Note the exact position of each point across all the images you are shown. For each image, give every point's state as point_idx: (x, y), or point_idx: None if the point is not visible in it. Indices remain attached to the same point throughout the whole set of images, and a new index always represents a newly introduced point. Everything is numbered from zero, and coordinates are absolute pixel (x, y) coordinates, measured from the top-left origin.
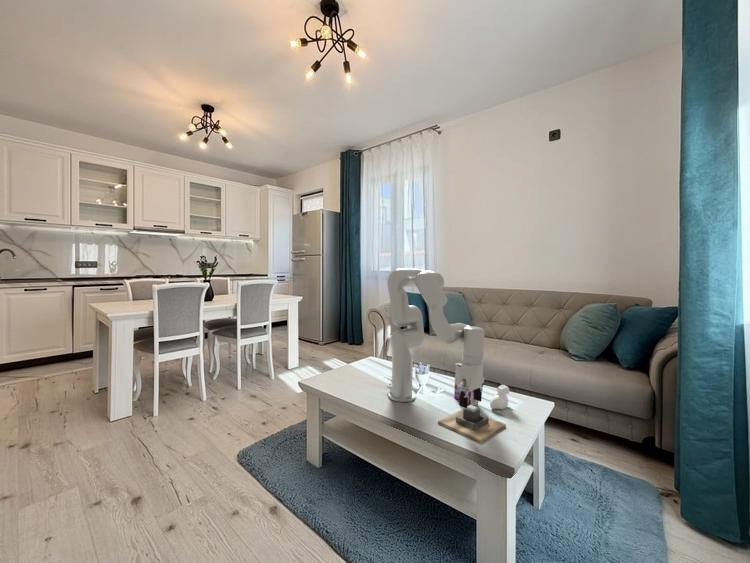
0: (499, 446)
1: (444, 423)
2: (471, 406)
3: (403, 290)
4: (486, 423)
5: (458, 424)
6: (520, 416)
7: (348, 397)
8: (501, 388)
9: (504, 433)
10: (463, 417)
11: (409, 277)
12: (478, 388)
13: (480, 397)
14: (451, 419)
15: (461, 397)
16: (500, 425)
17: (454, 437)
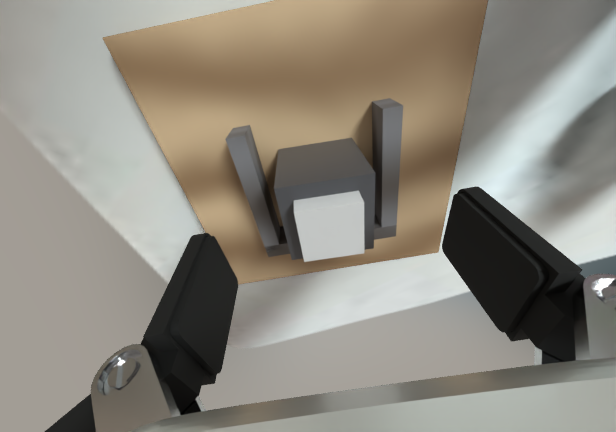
0: (281, 304)
1: (142, 102)
2: (337, 227)
3: None
4: None
5: (230, 157)
6: (593, 214)
7: None
8: None
9: (374, 269)
10: (277, 163)
11: None
12: (564, 346)
13: (466, 278)
14: (228, 78)
15: (151, 351)
16: (408, 250)
17: (151, 214)
